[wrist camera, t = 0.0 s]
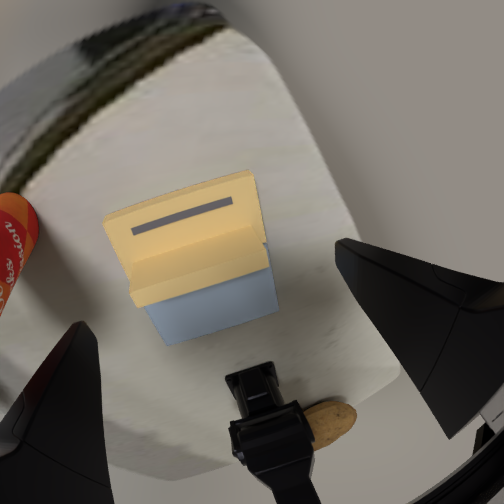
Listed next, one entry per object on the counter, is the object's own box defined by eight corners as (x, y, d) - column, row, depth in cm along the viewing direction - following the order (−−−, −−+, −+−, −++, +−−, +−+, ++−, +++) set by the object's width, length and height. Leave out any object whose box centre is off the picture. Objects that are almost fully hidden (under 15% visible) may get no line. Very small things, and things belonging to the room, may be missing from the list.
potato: (350, 395, 49) (368, 426, 42) (290, 430, 50) (304, 462, 44) (334, 381, 44) (355, 418, 37) (266, 421, 45) (280, 458, 38)
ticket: (274, 301, 30) (279, 311, 29) (166, 335, 29) (167, 346, 27) (261, 236, 26) (267, 245, 25) (134, 277, 24) (133, 287, 23)
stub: (261, 234, 26) (283, 267, 21) (132, 274, 24) (128, 316, 20) (248, 169, 22) (270, 190, 18) (105, 215, 21) (91, 248, 16)
